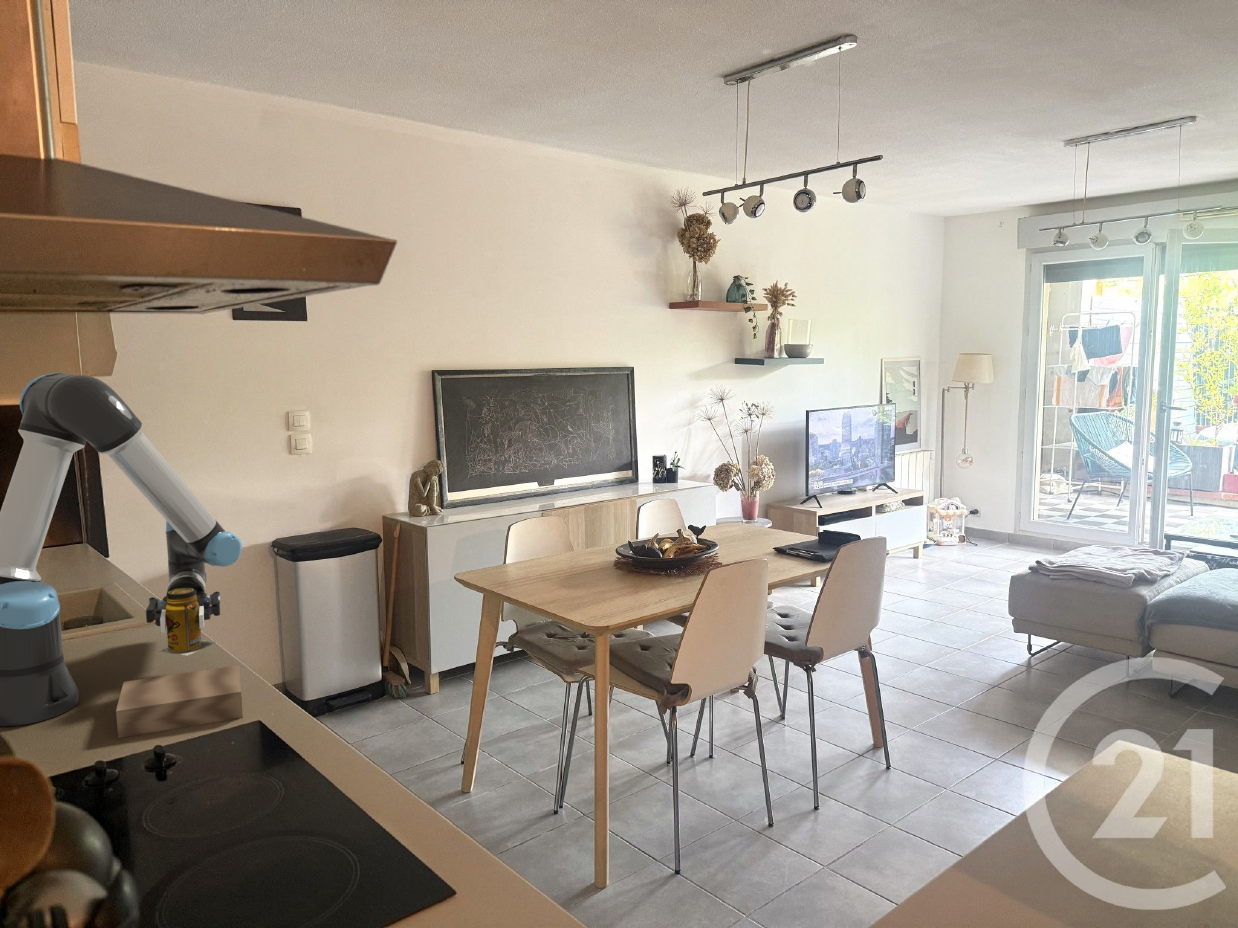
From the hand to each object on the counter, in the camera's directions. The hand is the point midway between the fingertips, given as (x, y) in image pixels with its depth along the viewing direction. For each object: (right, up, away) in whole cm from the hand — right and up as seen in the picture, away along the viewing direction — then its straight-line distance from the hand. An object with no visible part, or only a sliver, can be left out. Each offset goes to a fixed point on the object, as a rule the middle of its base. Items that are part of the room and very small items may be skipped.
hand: (182, 623), depth 169 cm
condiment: (-2, -6, +6) cm, 8 cm away
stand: (+4, -15, -7) cm, 17 cm away
